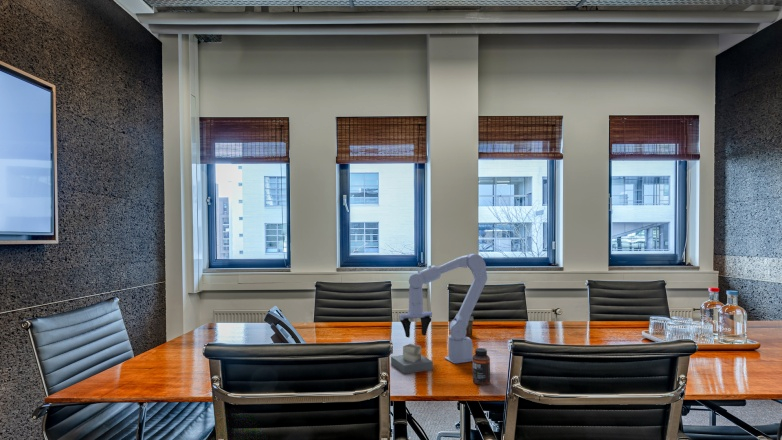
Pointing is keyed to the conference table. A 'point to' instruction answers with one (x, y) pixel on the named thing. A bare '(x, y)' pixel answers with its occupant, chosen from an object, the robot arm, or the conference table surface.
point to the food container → (469, 326)
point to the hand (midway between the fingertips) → (415, 335)
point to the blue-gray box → (411, 364)
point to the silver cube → (411, 352)
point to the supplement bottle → (481, 367)
